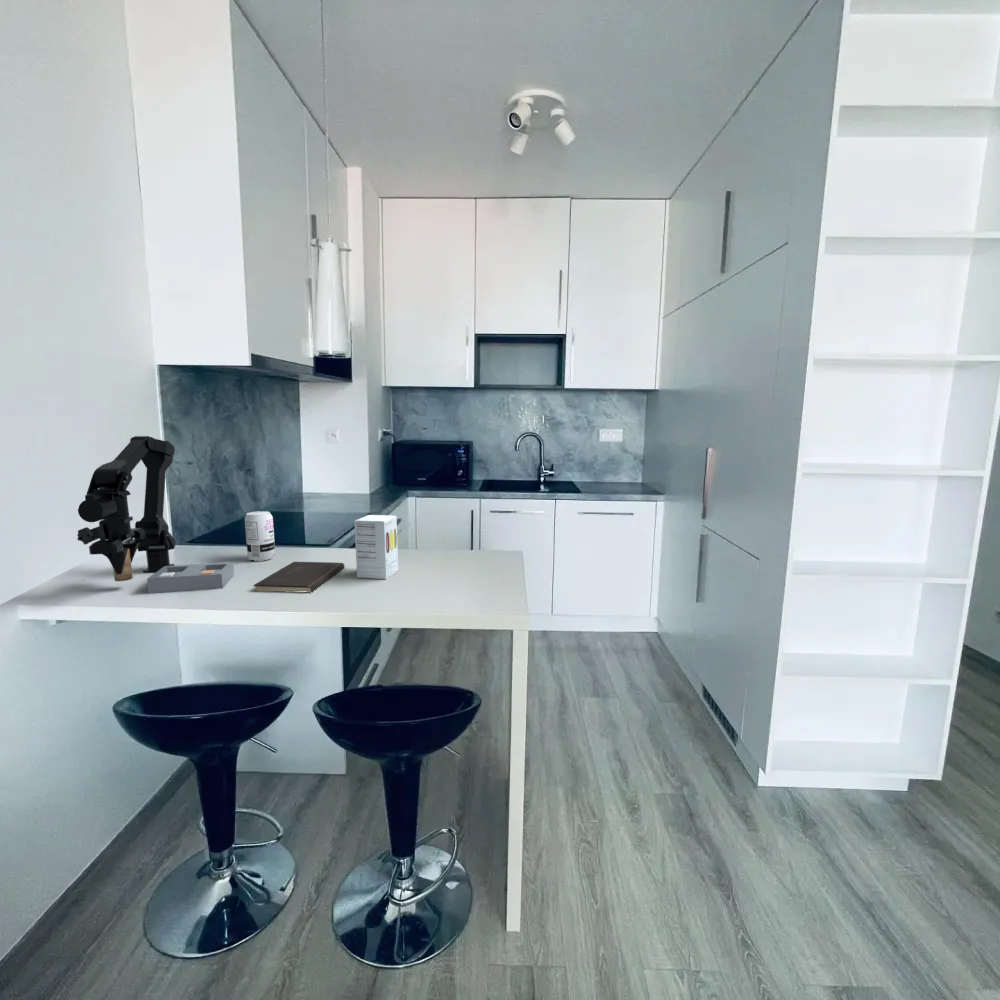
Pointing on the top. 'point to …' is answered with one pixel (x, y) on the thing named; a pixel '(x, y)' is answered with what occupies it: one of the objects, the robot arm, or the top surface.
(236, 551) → the top surface
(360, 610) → the top surface
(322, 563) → the hardcover book
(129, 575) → the walnut peg
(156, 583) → the socket block
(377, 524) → the supplement box
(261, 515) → the supplement can
